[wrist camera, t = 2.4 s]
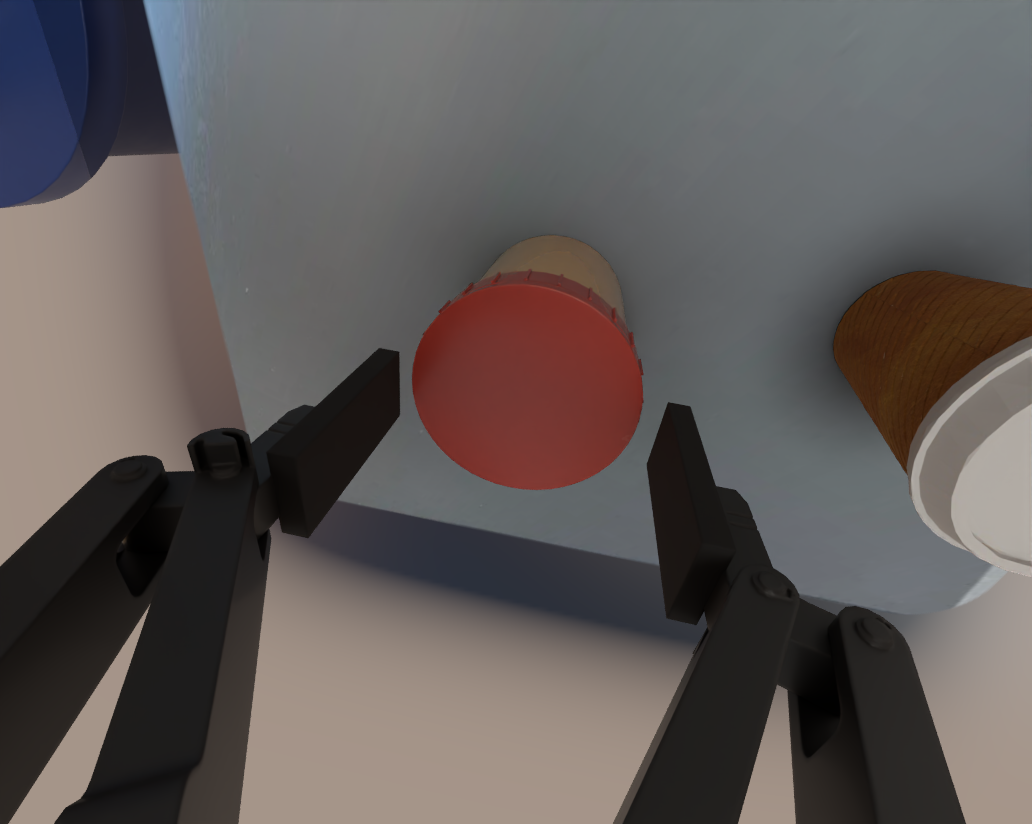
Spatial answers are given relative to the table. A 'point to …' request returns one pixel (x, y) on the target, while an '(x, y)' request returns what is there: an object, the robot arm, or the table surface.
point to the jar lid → (529, 381)
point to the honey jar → (563, 265)
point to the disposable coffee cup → (952, 402)
